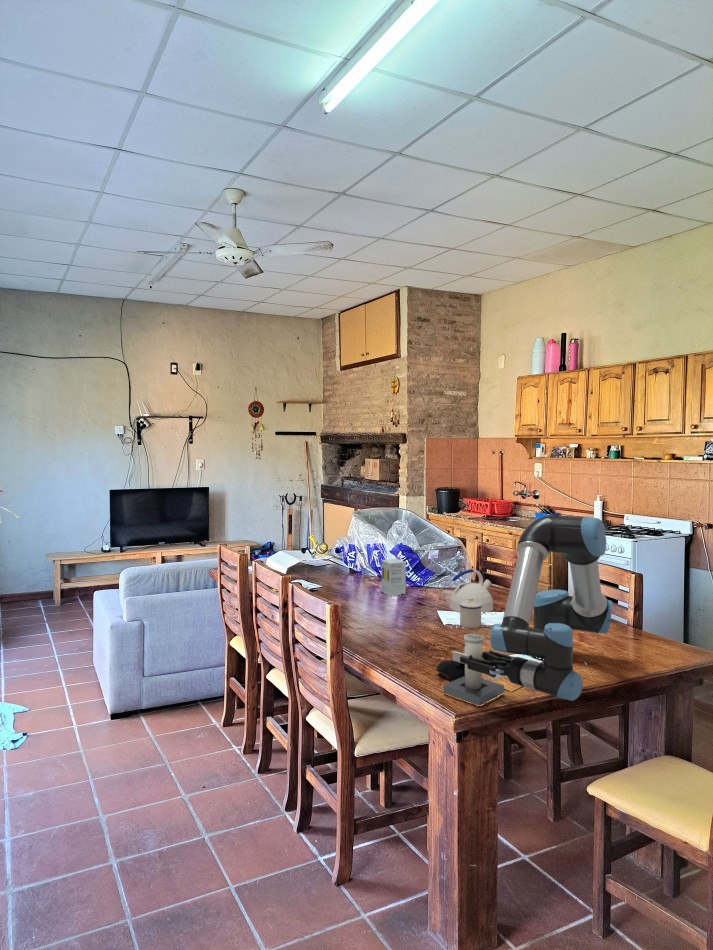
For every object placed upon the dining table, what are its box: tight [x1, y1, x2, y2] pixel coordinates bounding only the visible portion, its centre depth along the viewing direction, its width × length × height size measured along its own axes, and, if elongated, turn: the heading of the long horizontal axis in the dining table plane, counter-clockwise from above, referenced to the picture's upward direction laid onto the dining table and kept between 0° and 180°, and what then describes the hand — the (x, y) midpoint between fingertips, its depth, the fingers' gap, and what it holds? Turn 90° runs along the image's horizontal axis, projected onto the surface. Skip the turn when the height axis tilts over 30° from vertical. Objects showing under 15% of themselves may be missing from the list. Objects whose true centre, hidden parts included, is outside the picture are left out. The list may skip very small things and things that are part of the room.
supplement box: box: [380, 558, 407, 597], centre depth 324 cm, size 10×9×17 cm
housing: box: [443, 676, 505, 705], centre depth 196 cm, size 13×13×3 cm
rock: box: [436, 659, 465, 682], centre depth 211 cm, size 9×10×10 cm
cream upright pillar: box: [463, 633, 484, 691], centre depth 195 cm, size 6×6×16 cm
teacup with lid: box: [459, 597, 482, 629], centre depth 271 cm, size 12×9×12 cm
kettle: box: [448, 568, 494, 613], centre depth 297 cm, size 20×21×18 cm
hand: (459, 653), depth 199 cm, fingers closed on cream upright pillar, 5 cm apart
